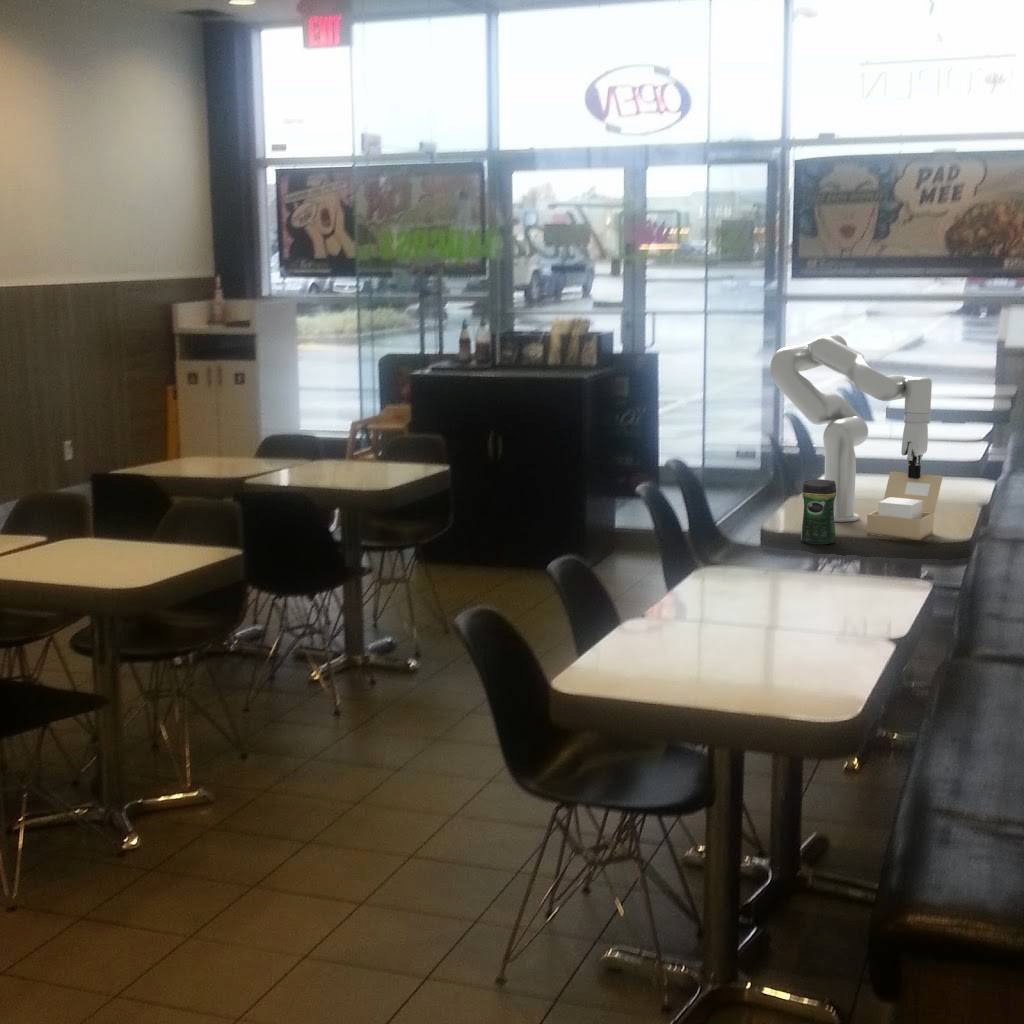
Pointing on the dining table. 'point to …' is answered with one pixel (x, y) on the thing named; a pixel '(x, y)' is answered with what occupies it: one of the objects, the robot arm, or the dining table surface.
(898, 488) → the lid
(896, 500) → the mailer box
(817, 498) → the coffee jar
